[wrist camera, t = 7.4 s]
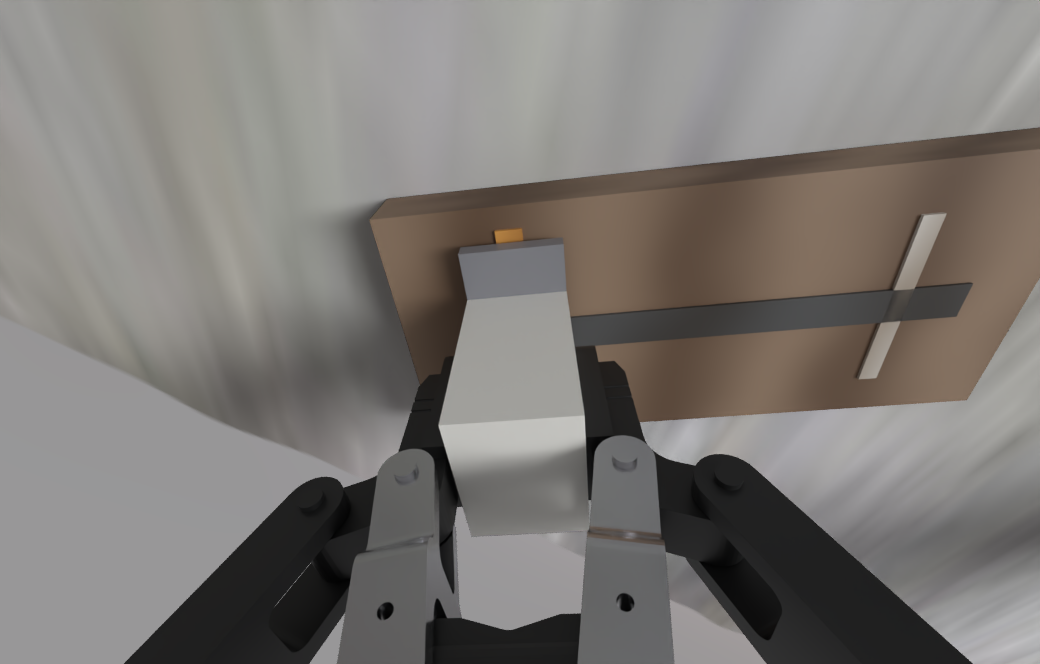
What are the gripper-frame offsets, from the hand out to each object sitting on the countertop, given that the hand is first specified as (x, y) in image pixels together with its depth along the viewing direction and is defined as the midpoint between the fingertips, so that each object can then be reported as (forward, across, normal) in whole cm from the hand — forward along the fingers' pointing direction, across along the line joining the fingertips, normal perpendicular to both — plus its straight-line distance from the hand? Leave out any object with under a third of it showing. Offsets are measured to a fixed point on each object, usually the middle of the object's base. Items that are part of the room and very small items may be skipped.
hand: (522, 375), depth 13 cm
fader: (+2, 0, 0) cm, 2 cm away
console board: (+4, -6, 0) cm, 7 cm away
